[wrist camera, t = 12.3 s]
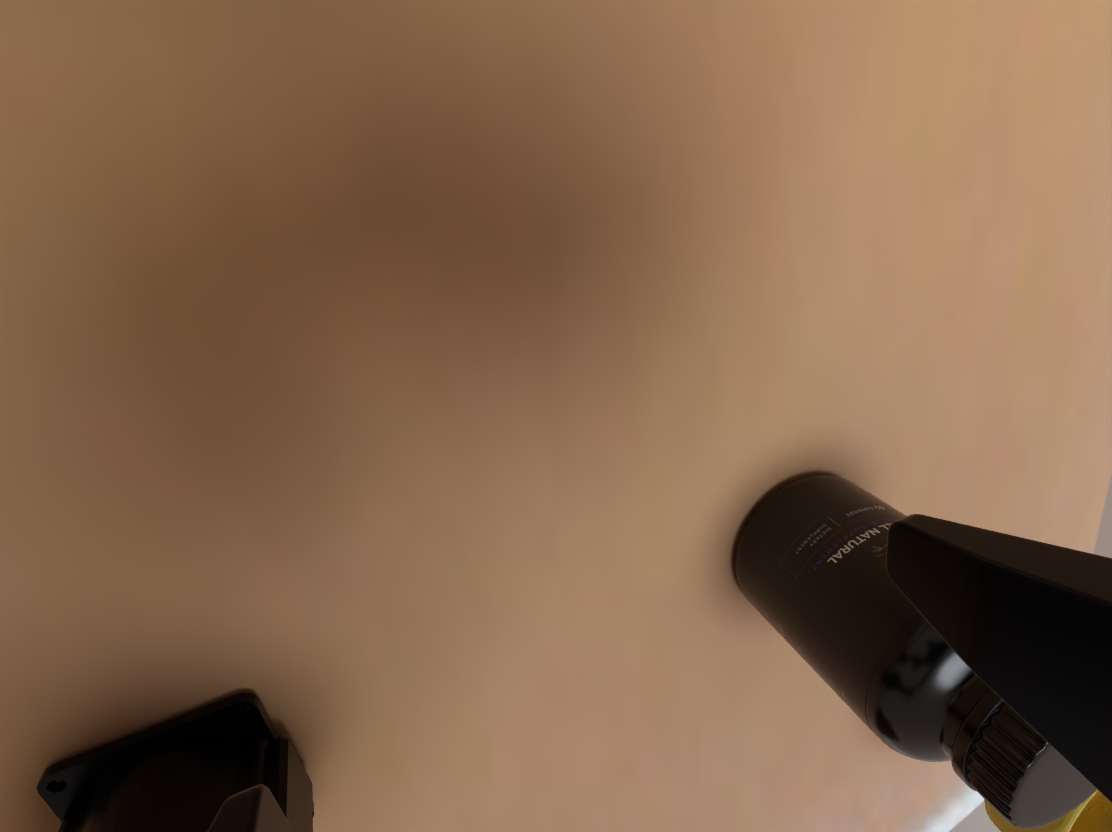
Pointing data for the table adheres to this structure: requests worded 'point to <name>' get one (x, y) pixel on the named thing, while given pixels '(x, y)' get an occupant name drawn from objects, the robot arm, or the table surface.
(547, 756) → the table surface
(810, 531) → the supplement bottle
